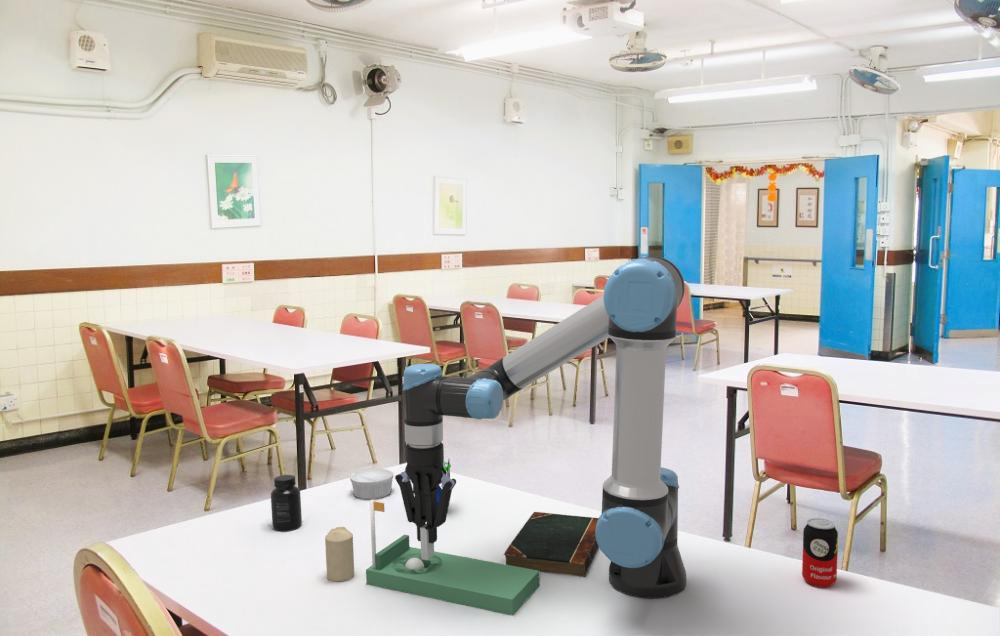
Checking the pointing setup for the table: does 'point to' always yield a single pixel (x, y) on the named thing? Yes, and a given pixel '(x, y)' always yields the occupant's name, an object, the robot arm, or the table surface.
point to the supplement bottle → (286, 504)
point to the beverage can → (820, 552)
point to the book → (554, 544)
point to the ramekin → (372, 483)
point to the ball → (414, 564)
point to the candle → (339, 554)
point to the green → (449, 576)
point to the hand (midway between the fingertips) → (427, 556)
